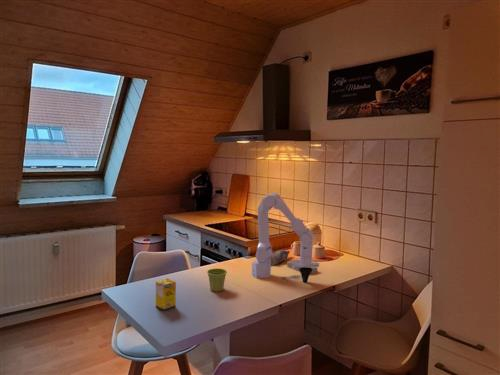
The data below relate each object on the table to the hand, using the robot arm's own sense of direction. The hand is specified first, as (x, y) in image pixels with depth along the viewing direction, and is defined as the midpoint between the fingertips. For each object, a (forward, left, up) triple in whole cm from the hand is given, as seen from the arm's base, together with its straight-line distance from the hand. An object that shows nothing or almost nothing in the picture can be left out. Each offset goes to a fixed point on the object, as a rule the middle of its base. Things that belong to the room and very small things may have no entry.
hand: (304, 281), depth 188 cm
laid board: (-2, +8, -1) cm, 9 cm away
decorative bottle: (+5, +37, -2) cm, 38 cm away
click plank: (-2, +2, -1) cm, 3 cm away
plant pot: (-43, +8, -2) cm, 44 cm away
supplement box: (-69, -4, -2) cm, 70 cm away
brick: (+9, +18, -2) cm, 20 cm away
